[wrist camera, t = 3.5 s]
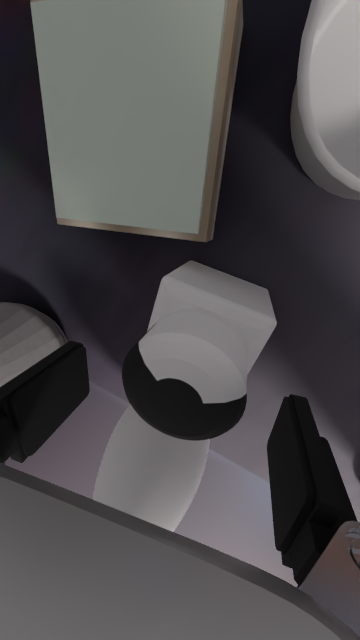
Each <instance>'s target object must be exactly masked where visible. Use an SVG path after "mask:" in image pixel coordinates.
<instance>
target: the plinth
mask: <svg viewBox="0 0 360 640" xmlns="http://www.w3.org/2000/svg"><path fill="white" fill-rule="evenodd" d="M30 4H31V12H32V21H33V29H34V37H35V45H36V54H37V62H38V70H39V78H40V87H41V95H42V103H43V111H44V120H45V128H46V136H47V144H48V153H49V161H50V169H51V177H52V186H53V194H54V202H55V210H56V218H57V223H58V224H62V225H70V226H78V227H86V228H94V229H102V230H110V231H118V232H127V233H135V234H143V235H151V236H159V237H167V238H175V239H183V240H191V241H200V242H208V241H210V240H212V239H213V233H214V226H215V219H216V212H217V205H218V198H219V191H220V184H221V177H222V170H223V163H224V156H225V149H226V142H227V135H228V128H229V121H230V114H231V107H232V100H233V93H234V86H235V79H236V72H237V66H238V59H239V52H240V45H241V38H242V31H243V3H242V0H31V2H30Z"/></svg>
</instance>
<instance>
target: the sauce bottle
mask: <svg viewBox="0 0 360 640" xmlns="http://www.w3.org/2000/svg"><path fill="white" fill-rule="evenodd" d="M209 444H210V439H207V440H199V441H192V440H183V439H178V438H174V437H172V436H169V435H166V434H164V433H162V432H160V431H158V430H156V429H155V428H153V427H152V426H150V425H149V424H148V423H146V422H145V421H144V420H143V419H142V418H141V417H140V416H139V415H138V414H137V413H136V411H135V410H134V409H133V407H132V406H131V404H130V405H129V407H128V408H127V409H126V411H125V412H124V413H123V415H122V416H121V418H120V419H119V422H118V423H117V425H116V426H115V428H114V430H113V432H112V435H111V437H110V439H109V441H108V444H107V447H106V449H105V452H104V455H103V458H102V461H101V465H100V468H99V472H98V475H97V480H96V484H95V488H94V494H93V499H92V500H95V501H97V502H100V503H102V504H105V505H107V506H110V507H112V508H115V509H117V510H120V511H122V512H125V513H127V514H130V515H132V516H135V517H137V518H140V519H142V520H145V521H147V522H150V523H152V524H155V525H157V526H159V527H162V528H164V529H167V530H169V531H172V532H174V530H175V529H176V527H177V526H178V524H179V523H180V521H181V519H182V518H183V516H184V515H185V513H186V511H187V509H188V507H189V506H190V504H191V502H192V500H193V498H194V496H195V493H196V491H197V489H198V486H199V483H200V481H201V478H202V475H203V472H204V468H205V464H206V460H207V456H208V450H209Z"/></svg>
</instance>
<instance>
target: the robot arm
mask: <svg viewBox="0 0 360 640" xmlns="http://www.w3.org/2000/svg"><path fill="white" fill-rule="evenodd" d="M88 394H89V378H88V368H87V357H86V349H85V347H84V346H83V344H81V343H78V342H74V341H69V342H67V343H66V344H64V345H63V346H61V347H60V348H58V349H57V350H55V351H54V352H52V353H51V354H49V355H48V356H46V357H45V358H43V359H42V360H40V361H39V362H37V363H36V364H34V365H33V366H31V367H30V368H28V369H27V370H25V371H24V372H22V373H21V374H19V375H18V376H16V377H15V378H13V379H12V380H10V381H9V382H7V383H6V384H4V385H3V386H1V387H0V640H360V522H357V519H356V516H355V513H354V511H353V508H352V505H351V503H350V500H349V497H348V494H347V492H346V489H345V486H344V483H343V481H342V478H341V475H340V473H339V470H338V467H337V464H336V462H335V459H334V456H333V453H332V451H331V448H330V445H329V443H328V441H327V440H326V439H325V438H323V437H320V436H319V433H318V430H317V427H316V424H315V421H314V418H313V415H312V412H311V409H310V406H309V403H308V400H307V398H305V397H301V396H297V395H292V394H291V395H290V396H289V397H284V399H283V402H282V404H281V407H280V410H279V413H278V415H277V418H276V421H275V423H274V426H273V429H272V432H271V434H270V437H269V440H268V444H267V454H268V466H269V478H270V489H271V501H272V512H273V523H274V524H273V525H274V536H275V546H276V549H277V550H278V551H281V555H282V564H283V565H285V566H287V567H290V568H292V569H293V574H294V580H295V581H296V582H297V584H298V586H297V587H294V586H292V585H291V584H289V583H288V582H286V581H284V580H282V579H280V578H278V577H276V576H274V575H272V574H270V573H267V572H265V571H264V570H261V569H259V568H257V567H255V566H253V565H251V564H248V563H246V562H243V561H241V560H239V559H236V558H234V557H232V556H230V555H227V554H225V553H222V552H220V551H218V550H215V549H213V548H211V547H209V546H206V545H204V544H201V543H199V542H196V541H194V540H191V539H189V538H186V537H184V536H182V535H179V534H177V533H174V532H172V531H169V530H167V529H164V528H162V527H159V526H157V525H155V524H152V523H150V522H147V521H145V520H142V519H140V518H137V517H135V516H132V515H130V514H127V513H125V512H122V511H120V510H117V509H115V508H112V507H110V506H107V505H105V504H102V503H100V502H97V501H95V500H92V499H90V498H87V497H85V496H82V495H80V494H77V493H75V492H72V491H70V490H67V489H65V488H62V487H59V486H57V485H55V484H52V483H49V482H47V481H44V480H42V479H39V478H37V477H34V476H32V475H29V474H26V473H24V472H21V471H18V470H16V469H14V468H11V467H9V466H6V465H5V461H6V460H7V459H8V458H9V457H11V459H13V460H16V461H18V462H20V463H22V462H24V461H25V459H26V458H27V457H28V456H31V455H33V454H34V453H35V452H36V451H37V450H38V449H39V448H40V447H41V446H42V445H43V443H44V442H45V441H46V440H47V439H48V438H49V437H50V436H51V435H52V433H54V432H55V430H56V429H57V428H58V427H59V426H60V425H61V424H62V423H63V422H64V421H65V420H66V418H67V417H68V416H69V415H70V414H71V413H72V412H73V411H74V410H75V409H76V408H77V407H78V406H79V405H80V403H81V402H82V401H83V400H84V399H85V398H86V397H87V395H88Z"/></svg>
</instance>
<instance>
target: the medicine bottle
mask: <svg viewBox="0 0 360 640" xmlns="http://www.w3.org/2000/svg"><path fill="white" fill-rule="evenodd" d="M276 324H277V321H276V317H275V314H274V310H273V306H272V303H271V299H270V295H269V292H268V290H267V289H266V288H263V287H260V286H258V285H255V284H253V283H250V282H247V281H245V280H242V279H240V278H237V277H234V276H232V275H229V274H226V273H224V272H221V271H219V270H216V269H213V268H211V267H208V266H206V265H203V264H200V263H198V262H195V261H191V260H190V261H188V262H187V263H185V264H184V265H182V266H180V267H179V268H177V269H175V270H174V271H172V272H171V273H169V274H167V275H166V276H164V277H163V278H162V280H161V283H160V287H159V290H158V294H157V297H156V301H155V304H154V308H153V312H152V315H151V319H150V322H149V326H148V329H147V333H146V334H145V335H144V336H143V337H142V338H141V339H140V340H139V341H138V342H137V343H136V344H135V345H134V346H133V347H132V349H131V350H130V351H129V352H128V354H127V356H126V358H125V361H124V364H123V369H122V380H123V386H124V389H125V393H126V396H127V398H128V400H129V402H130V404H131V406H132V407H133V409H134V410H135V411H136V413H137V414H138V415H139V416H140V417H141V418H142V419H143V420H144V421H145V422H146V423H148V424H149V425H150V426H152V427H153V428H155V429H156V430H158V431H160V432H162V433H164V434H166V435H169V436H172V437H174V438H178V439H183V440H192V441H199V440H207V439H211V438H214V437H217V436H219V435H221V434H223V433H225V432H227V431H229V430H230V429H231V428H233V427H234V426H235V425H236V424H237V423H238V422H239V420H240V418H241V417H242V415H243V413H244V410H245V407H246V401H247V375H248V373H249V372H250V370H251V368H252V366H253V365H254V363H255V361H256V360H257V358H258V356H259V354H260V353H261V351H262V349H263V348H264V346H265V344H266V342H267V341H268V339H269V337H270V336H271V334H272V332H273V330H274V329H275V327H276Z"/></svg>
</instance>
